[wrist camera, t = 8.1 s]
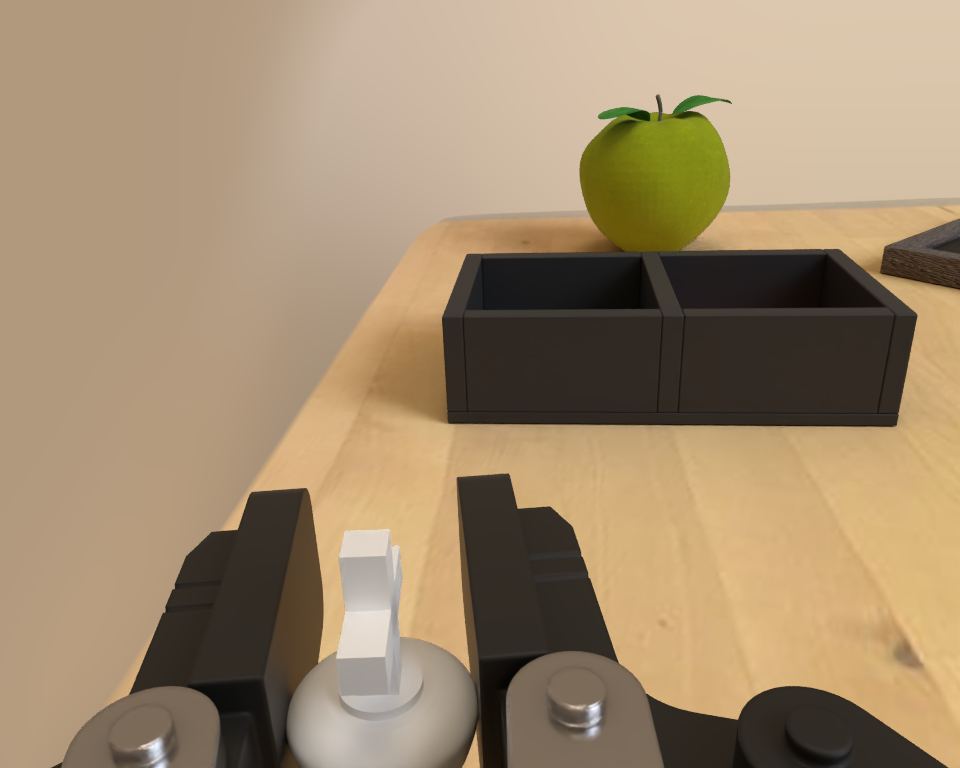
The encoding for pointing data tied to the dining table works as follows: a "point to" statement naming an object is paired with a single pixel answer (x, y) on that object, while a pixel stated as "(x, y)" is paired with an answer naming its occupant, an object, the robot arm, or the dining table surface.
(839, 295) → the caddy
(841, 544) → the dining table surface
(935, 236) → the picture frame
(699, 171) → the fruit
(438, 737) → the chess piece
